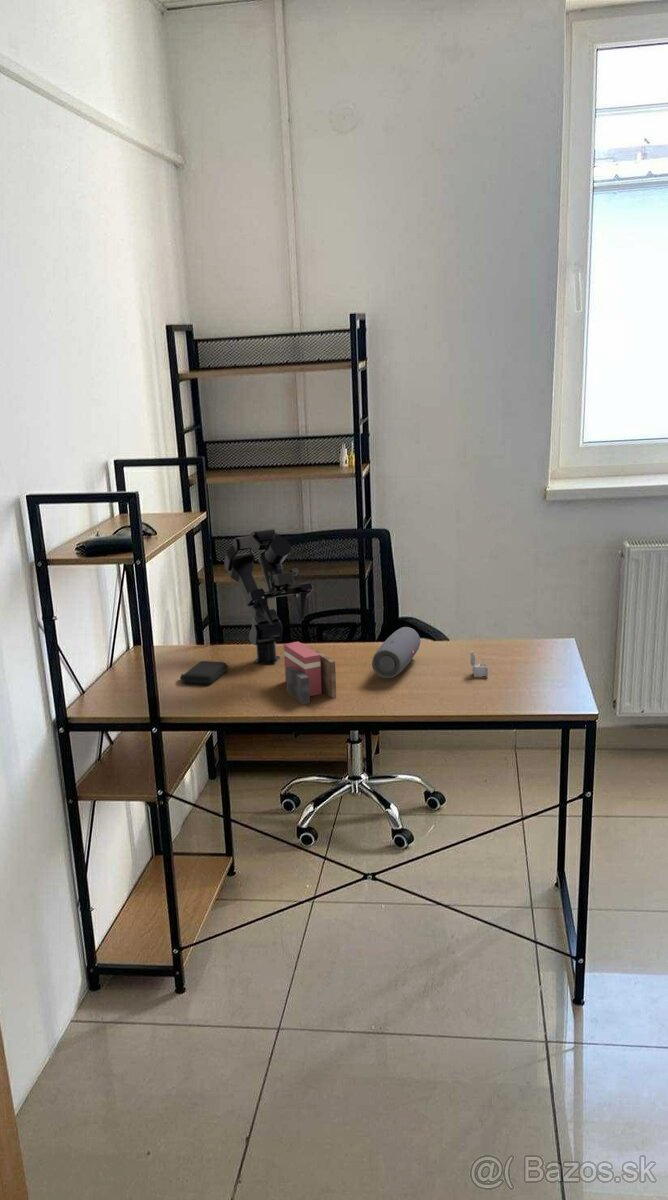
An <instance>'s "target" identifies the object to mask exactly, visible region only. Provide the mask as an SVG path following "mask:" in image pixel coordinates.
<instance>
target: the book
mask: <svg viewBox="0 0 668 1200" xmlns="http://www.w3.org/2000/svg"><path fill="white" fill-rule="evenodd" d="M315 651H316V650H313V649H311V648H310V647H308V646H307V645H305V644H304V643H302V642H300V641H298V640H297V641H293V642H288V643H283V656H284V657H283V658H284V674H285V675H284V676H285V677H284V678H285V682H286V683H287V681H286V667H291V666H293V667H295V668H296V669H297V670H299V671H300V672H302V673H303V674H305V675H306V676H308V677H309V691H310V697H312V696H318V695H322V693H323V691H322V690H321V664H320V655H319V654H318V653H316V652H315Z"/></svg>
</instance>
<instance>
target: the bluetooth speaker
mask: <svg viewBox="0 0 668 1200" xmlns="http://www.w3.org/2000/svg"><path fill="white" fill-rule="evenodd" d="M420 645H421V637H420V635H419V633H418V632H417V631H416V630H415V629H414V628H412V627H408V626H403V627H400V628H398V629H397V630H395V631H394V632H393V633H392V634H390V635H389V636H388V637H387V638H386V640H385V641H383V642H382V644H381V645H380V647H378V649H377V650H376V652H375V653H374V656H373V657H372V660H371V665H372V669H373V671H374V672H375V674H376V675H377V676H379V677H380V678H384V679H392V678H395V677H396V676H398V675H399V674H401V672H402V671H403V670H404V669H405V668H406V667H407V666H408V665H409V663H410V662H412V660H413V658H414V657H415V656H416V653H417V652H418V651H419V648H420Z"/></svg>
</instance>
